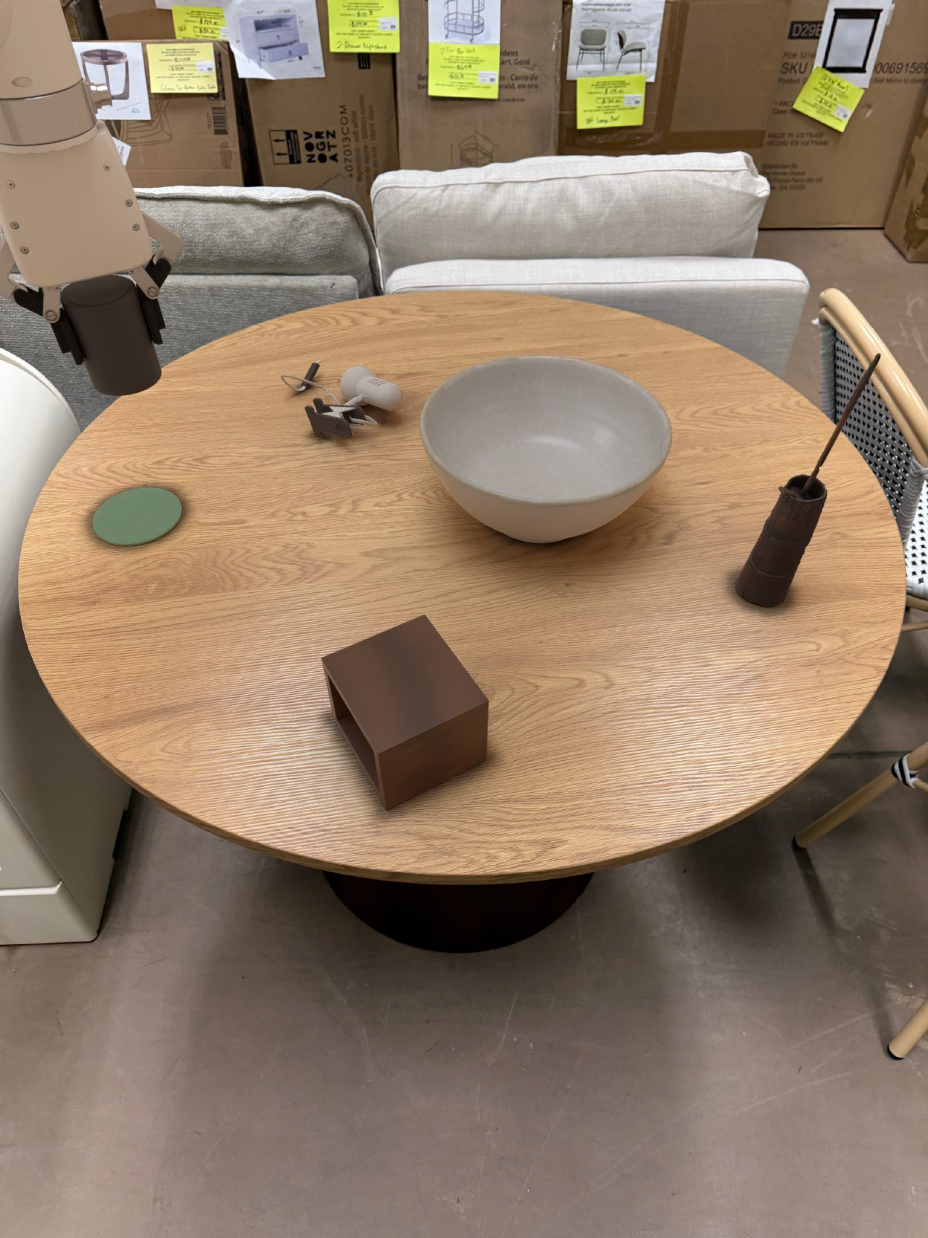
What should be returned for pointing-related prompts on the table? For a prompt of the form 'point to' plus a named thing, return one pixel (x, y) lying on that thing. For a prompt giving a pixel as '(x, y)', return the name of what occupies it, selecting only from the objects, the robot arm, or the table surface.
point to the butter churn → (790, 526)
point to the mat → (137, 516)
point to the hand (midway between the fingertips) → (116, 345)
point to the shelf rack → (407, 709)
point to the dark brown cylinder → (112, 334)
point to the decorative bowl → (544, 444)
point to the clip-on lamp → (349, 400)
